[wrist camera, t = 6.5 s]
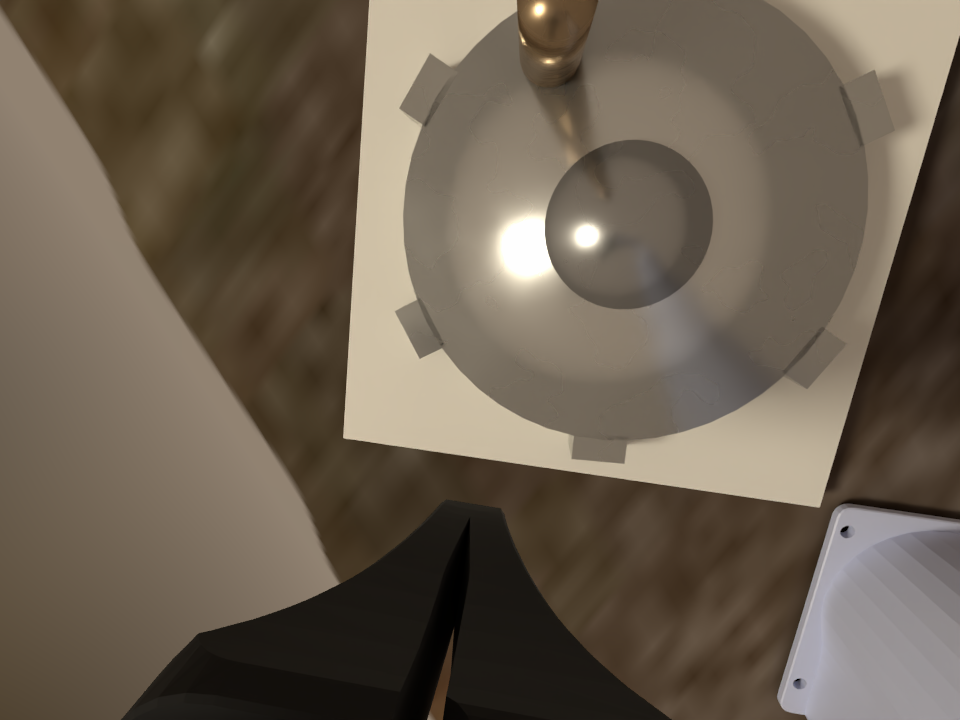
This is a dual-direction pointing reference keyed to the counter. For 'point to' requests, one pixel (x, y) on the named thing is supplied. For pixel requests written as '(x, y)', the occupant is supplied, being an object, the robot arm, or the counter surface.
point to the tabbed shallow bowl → (635, 212)
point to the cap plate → (677, 457)
